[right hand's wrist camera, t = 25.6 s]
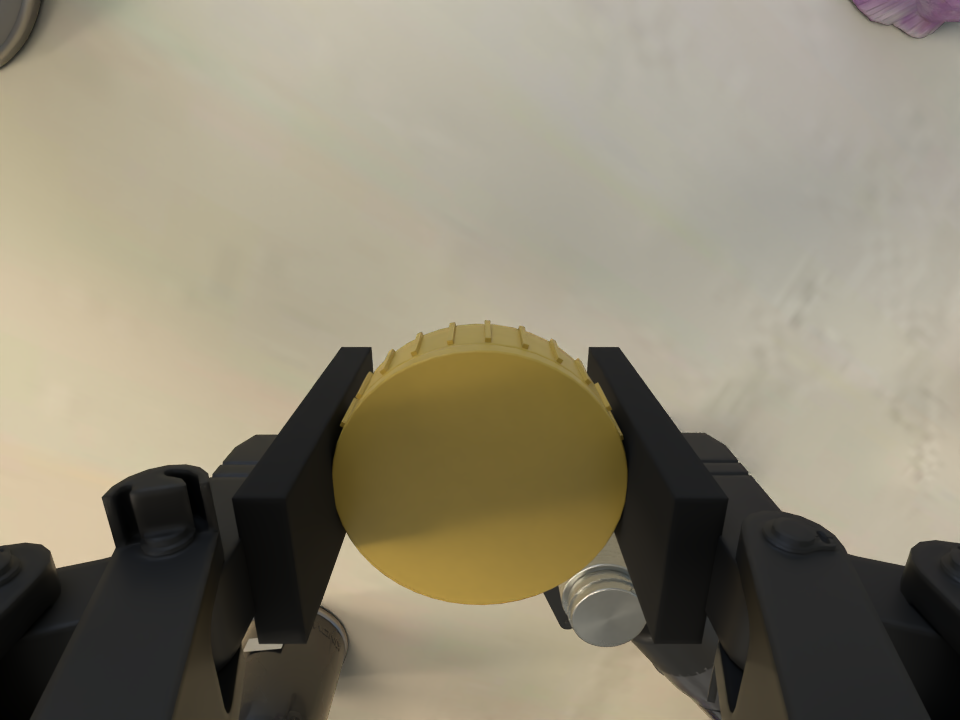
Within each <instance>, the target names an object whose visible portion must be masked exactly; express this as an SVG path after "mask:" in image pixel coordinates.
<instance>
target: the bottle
mask: <svg viewBox="0 0 960 720" xmlns="http://www.w3.org/2000/svg"><path fill="white" fill-rule="evenodd" d="M559 591H560V596H561V602H562V606H563V609H564V611H565V613H566V614H567V616H568V619H569V622H570V624H571V626H572V628H573V629H574V631H575V633H576V634H577V635H578V636H579V637H580V638H581V639H582V640H584V641H585V642H587V643H589V644H592V645H595V646H600V647H612V646H618V645H621V644H624V643H626V642H629V641H630V640H632V639H634V638H635V637H636V636H637V635H638V634H639V633H640V632H641V631H642V629H643V628H644V626H645V624H646V620H645V618H644V615H643V612H642V609H641V606H640V603H639V601H638V598H637V595H636V592H635V589H634V587H633V584H632V581H631V578H630V575H629V573H628V570H627V567H626V564H625V561H624V559H623V556H622V553H621V550H620V547H619V545H618V542H617V539H616V536H615V533H614V532H613V534H612V536H611V537H610V539H609V540H608V542H607V543H606V545H605V546H604V548H603V549H602V550H601V551H600V552H599V554H598V555H597V556H596V557H595V558H594V559H593V560H592V561H591V562H590V563H589V564H588V565H587V566H586V567H584V568H583V569H582V570H581V571H580V572H578V573H577V574H576V575H574V576H573V577H571V578H570V579H569V580H567V581H565V582H564V583H562V584H560V585H559Z"/></svg>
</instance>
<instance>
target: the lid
mask: <svg viewBox="0 0 960 720" xmlns="http://www.w3.org/2000/svg"><path fill="white" fill-rule="evenodd" d="M356 398H357V399H356ZM356 398H354V399H353V401H352V403H351V405H350V406H349V408H348V410H347V412H346V414H345V416H344V418H343V420H342V422H341V424H340V426H341V427H343V429H342V432H341V434H340V436H339V439H338V441H337V445H336V449H335V453H334V457H333V465H332V478H333V488H334V497H335V505H336V509H337V512H338V515H339V517H340V520H341V523H342V525H343V527H344V529H345V531H346V532H347V534H348V536H349V538H350V540H351V541H352V542H353V544H354V545H355V546H356V548H357V549H358V550H359V552H360V553H361V554H362V555H363V556H364V557H365V558H366V559H367V560H368V561H369V562H370V563H371V564H372V565H373V566H374V567H375V568H377V569H378V570H379V571H380V572H382V573H383V574H384V575H385V576H387V577H388V578H390V579H392V580H393V581H395V582H396V583H398V584H400V585H402V586H404V587H406V588H408V589H410V590H412V591H414V592H416V593H419V594H422V595H425V596H428V597H430V598H434V599H438V600H442V601H446V602H452V603H460V604H472V605H488V604H502V603H507V602H513V601H519V600H522V599H525V598H529V597H532V596H536V595H538V594H541V593H543V592H546V591H548V590H550V589H553V588H554V587H556V586H558V585H560V584H562V583H564V582H565V581H567V580H569V579H570V578H571V577H573V576H574V575H576V574H577V573H578V572H580V571H581V570H582V569H583V568H584V567H586V566H587V565H588V564H589V563H590V562H591V561H592V560H593V559H594V558H595V557H596V556H597V555H598V554H599V552H600V551H601V550H602V549H603V548H604V546H605V545H606V543H607V542H608V540H609V539H610V537H611V536H612V534H613V532H614V530H615V528H616V526H617V524H618V522H619V520H620V517H621V514H622V511H623V508H624V505H625V500H626V491H627V481H628V466H627V460H626V453H625V449H624V446H623V443H622V440H624V437H623V434H622V432H621V430H620V428H619V427H618V425H617V423H616V421H615V419H614V417H613V415H612V413H611V411H610V410H612V408H611V406H610V404H609V402H608V400H607V398H606V396H605V395H604V393H603V391H602V389H601V387H600V385H599V383H596V384H594V383H593V382H592V380H591V379H590V377H589V376H588V374H587V372H586V370H585V368H584V366H583V364H582V362H581V360H580V359H579V358H577V359H576V360H574V359H573V358H572V357H570V356H569V355H568V354H567V353H565V352H564V351H563V350H562V349H560V348H559V347H558V346H557V343H556V341H555V340H553V339H551V340H550V341H547V340H545V339H543V338H541V337H539V336H536V335H534V334H532V333H529V332H526V331H525V327H523V326H519V329H516V328H512V327H506V326H500V325H493V324H490V321H488V320H485V324H469V325H458V326H456V324H455V322H454V323H450V326H449V328H444V329H440V330H437V331H434V332H431V333H428V334H426V335H423V333H422V332H421V333H418V334H417V336H416V339H415V340H413V341H411V342H409V343H407V344H406V345H404V346H403V347H401V348H400V349H398V350H397V351H396V352H395V351H394V350H393V349H392V350H390V351H389V353H388V355H387V357H386V359H385V361H384V362H383V363H382V364H381V365H380V366H379V367H378V368H377V369H376V371H375V372H374V373H372V372H369V373H368V374H367V376H366V378H365V380H364V381H363V383H362V385H361V387H360V389H359V391H358V393H357V395H356Z"/></svg>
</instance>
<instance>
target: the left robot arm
mask: <svg viewBox="0 0 960 720" xmlns="http://www.w3.org/2000/svg"><path fill="white" fill-rule="evenodd" d="M543 593H544V595H545V597H546V599H547V601H548V603H549V605H550V607H551V609H552V611H553V612H554V614H555V616H556V618H557V620H558V622H559V624H560V626H561V627H562V628H563V629H572V626H571V624H570V622H569V619H568V616H567V614H566V613H565V611H564V609H563V606H562V602H561V596H560V591H559V585H558V586H556V587H554V588H553V589H550V590H548V591H546V592H543ZM718 640H719V638H718V636H717V634H716V632H715V630H714V628H713V626H712V624H711V622H710V620H709V618H708V616H707V618H706V623H705V628H704V634H703V639H702V644H654V643H653V640H652V637H651V634H650V632H649V629H648V626H647V623H646V624H645V626H644V628H643V629H642V631H641V632H640V633H639V634H638V635H637V636H636V637H635V638H634V639H632V640H631V641H632V642H633V643H634V644H635V645H636V646H637V647H638V648H639V649H640V650H641V652H642V653H643V654H644V655H645V656H646V657H647V658H648V659H649V660H650V661H651V662H652V663H653V665H654V666H655V668H656V669H657V670H658V671H659V672H660V673H661V674H662V675H665V676H666V678H667V679H668V680H669V681H670V682H671V683H672V684H673V685H675V686H676V687H677V688H678V689H679V690H680V691H682V692H683V693H684V694H686V695H687V696H689V697H690V698H691V699H692V700H693V701H694V702H695V703H696V704H697V705H698V706H699V707H700V708H701V709H702V710H703V711H704V712H705V713H706V714H707V715H708V717H709V718H711V719H712V720H722V719H721V712H720V704H719V696H718V691H717V695H716V700H715V703H712V702H708V701H707V698H708V691H709V685H710V680H711V675H712V670H713V665H714V660H715V655H716V650H717V645H718ZM242 645H243V650H244V656H245V664H246V667H245V675H244V682H243V690H242V698H241V705H240V713H239V720H327V719H328V715H329V711H330V708H331V704H332V700H333V697H334V693H335V690H336V686H337V682H338V678H339V675H340V671H341V667H342V664H343V662H344V660H345V657H346V653H347V649H348V640H347V635H346V633H345V630H344V628H343V627H342V625H341V624H340V622H339V621H338V620H337V619H336V618H335V617H334V616H333V615H331V614H330V613H329V612H327V611H325V610H324V609H322V608H320V607H319V610H318V613H317V616H316V619H315V621H314V624H313V627H312V630H311V633H310V635H309V638H308V641H307V644H259V642H258V637H257V632H256V626H255V621H254V618H253V620H252V622H251V624H250V626H249V628H248V630H247V632H246V634H245V636H244V638H243V640H242Z"/></svg>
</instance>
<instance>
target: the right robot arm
mask: <svg viewBox="0 0 960 720" xmlns="http://www.w3.org/2000/svg"><path fill="white" fill-rule="evenodd" d="M40 4H41V0H0V67H1V66H3V65H4V64H6V63H7V62H8V61H9V60H10V59H11V58H13V57H14V55H15V54H16V53H17V52H18V51H19V50H20V49H21V47H22V46H23V44H24V43H25V42H26V40H27V39H28V37H29V35H30V33H31V31H32V29H33V26H34V24H35V21H36V19H37V15H38V12H39V8H40ZM369 372H372V373H373V362H372V349H371V347H341V349H340V350H339V351H338V353H337V354H336V356H335V357H334V358H333V360H332V361H331V362H330V364H329V365H328V367H327V368H326V369H325V371H324V372H323V373H322V375H321V376H320V378H319V379H318V380H317V382H316V383H315V384H314V386H313V387H312V389H311V390H310V391H309V393H308V394H307V395H306V397H305V398H304V400H303V401H302V402H301V404H300V405H299V406H298V408H297V409H296V411H295V412H294V413H293V415H292V416H291V417H290V419H289V420H288V422H287V423H286V424H285V426H284V427H283V428H282V430H281V431H280V433H279V434H278V435H255V436H253V437H251V438H250V439H248V440H246V441H245V442H243V443H241V444H240V445H238V446H237V447H235V448H234V449H233V451H232V452H231V453H230V454H229V455H228V456H227V458H226V459H225V460H224V461H223V465H220V466H219V467H218V468H217V469H216V471H215V472H214V473H213V474H212V475H213V476H212V477H210V478H209V476H208V473H207V472H206V471H204V470H203V469H202V468H200V467H196V466H191V465H186V464H185V465H167V466H162V467H157V468H153V469H148V470H145V471H143V472H140V473H137V474H135V475H132V476H130V477H127V478H126V479H124V480H122V481H121V482H119V483H117V484H116V485H114V486H112V487H111V488H110V489H109V490H108V491H107V492H106V493H105V495H104V496H103V497H102V500H103V504H104V507H105V511H106V514H107V518H108V521H109V525H110V528H111V532H112V535H113V539H114V543H115V546H116V549H115V551H114V553H113V555H112V557H109V558H105V559H101V560H96V561H91V562H86V563H81V564H76V565H71V566H66V567H61V568H56V567H55V564H54V561H53V558H52V555H51V552H50V551H49V550H48V549H47V548H45V547H44V546H43V545H41V544H33V543H20V544H12V545H4V546H0V720H239V713H240V705H241V698H242V690H243V682H244V675H245V667H246V664H245V656H244V650H243V645H242V640H243V638H244V636H245V634H246V632H247V630H248V628H249V626H250V624H251V622H252V620H253V618H254V621H255V626H256V632H257V637H258V642H259V644H307V641H308V638H309V635H310V633H311V630H312V627H313V624H314V621H315V619H316V616H317V613H318V610H319V607H320V604H321V602H322V599H323V596H324V593H325V590H326V588H327V585H328V582H329V579H330V576H331V574H332V571H333V568H334V565H335V562H336V560H337V557H338V554H339V551H340V548H341V546H342V543H343V540H344V537H345V534H346V531H345V529H344V527H343V525H342V523H341V520H340V517H339V515H338V512H337V509H336V505H335V497H334V488H333V478H332V465H333V457H334V453H335V449H336V445H337V441H338V439H339V436H340V434H341V432H342V429H343V427H341V426H340V424H341V422H342V420H343V418H344V416H345V414H346V412H347V410H348V408H349V406H350V405H351V403H352V401H353V399H354V398H356V395H357V393H358V391H359V389H360V387H361V385H362V383H363V381H364V380H365V378H366V376H367V374H368V373H369ZM587 374H588V376H589V377H590V379H591V380H592V382H593V383H594V384H596V383H599V385H600V387H601V389H602V391H603V393H604V395H605V396H606V398H607V400H608V402H609V404H610V406H611V408H612V410H610V411H611V413H612V415H613V417H614V419H615V421H616V423H617V425H618V427H619V428H620V430H621V432H622V434H623V437H624V440H622V443H623V446H624V449H625V453H626V460H627V466H628V481H627V491H626V500H625V505H624V508H623V511H622V514H621V517H620V520H619V522H618V524H617V526H616V528H615V530H614V533H615V536H616V539H617V542H618V545H619V547H620V550H621V553H622V556H623V559H624V561H625V564H626V567H627V570H628V573H629V575H630V578H631V581H632V584H633V587H634V589H635V592H636V595H637V598H638V601H639V603H640V606H641V609H642V612H643V615H644V618H645V620H646V623H647V626H648V629H649V632H650V634H651V637H652V640H653V643H654V644H702V639H703V634H704V628H705V623H706V618H707V616H708V618H709V620H710V622H711V624H712V626H713V628H714V630H715V632H716V634H717V636H718V638H719V640H718V645H717V650H716V655H715V660H714V665H713V670H712V675H711V680H710V685H709V691H708V698H707V701H708V702H712V703H715V700H716V695H717V691H718V696H719V704H720V712H721V719H722V720H960V543H953V542H945V541H938V540H933V541H925V542H919V543H918V544H917V545H915V546H914V547H913V548H911V551H910V554H909V557H908V560H907V563H906V566H902V565H897V564H892V563H887V562H882V561H877V560H872V559H867V558H862V557H858V556H854V555H850V554H847V552H846V550H845V548H844V546H843V545H842V544H841V542H840V541H839V540H838V539H837V537H836V536H835V535H834V534H832V533H831V532H829V531H828V530H827V529H825V528H824V527H822V526H821V525H819V524H817V523H815V522H813V521H811V520H808V519H806V518H804V517H801V516H798V515H794V514H790V513H786V512H782V511H781V510H780V509H779V508H778V507H777V505H776V504H775V503H774V502H773V501H772V500H771V498H770V497H769V496H768V495H767V494H766V493H765V491H764V490H763V489H762V488H761V487H760V485H759V484H758V483H757V482H756V481H755V480H754V478H753V477H752V476H751V475H748V471H747V470H746V469H745V468H744V467H743V465H742V464H741V463H738V460H737V458H736V457H735V456H734V455H733V454H732V453H731V451H730V450H729V449H728V448H727V447H726V445H724V444H722V443H721V442H719V441H717V440H716V439H714V438H712V437H711V436H709V435H707V434H706V433H681V432H680V431H679V429H678V428H677V427H676V425H675V424H674V422H673V421H672V420H671V418H670V417H669V416H668V414H667V413H666V411H665V410H664V409H663V407H662V406H661V405H660V403H659V402H658V400H657V399H656V398H655V396H654V395H653V394H652V392H651V391H650V389H649V388H648V387H647V385H646V384H645V383H644V381H643V380H642V378H641V377H640V376H639V374H638V373H637V372H636V370H635V369H634V367H633V366H632V365H631V363H630V362H629V361H628V359H627V358H626V356H625V355H624V354H623V352H622V351H621V350H620V348H619V347H589V354H588V367H587ZM356 399H357V398H356Z"/></svg>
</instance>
